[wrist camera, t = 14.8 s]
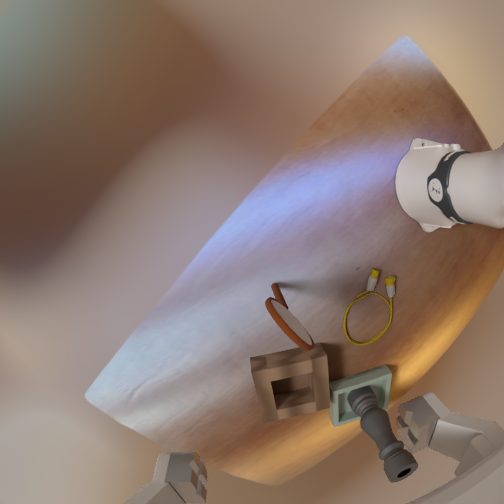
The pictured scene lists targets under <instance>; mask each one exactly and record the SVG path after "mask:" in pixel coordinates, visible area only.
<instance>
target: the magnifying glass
mask: <svg viewBox="0 0 504 504" xmlns="http://www.w3.org/2000/svg"><path fill="white" fill-rule="evenodd" d="M271 288H272V290H273V293H274V296H275V298H276V299H274V298H272V297H270V298H268V299H267V300H266V302H265V305H266V308H267V310H268V312H269V313H270V315H271V316H272V318H273V319H274V320H275V322H276V323H277V324H278V326H279V327H280V328H281V329H282V330H283V331H284V333H285V334H286V335H287V336H288V337H289V338H290V339H291V340H292V341H294V342H295V343H296V344H297V345H298V346H300V347H301V348H302V349H304V350H306V351H310V350H312V349H313V348H314V342H313V340H312V338H311V337H310V335H309V334H308V332H307V331H306V329H305V328H304V327H303V326H302V324H301V323H300V322H299V321H298V320H297V318H296V317H295V316H294V315H293V314H292V313H291V312H290V311H289V310H288V306H287V304H286V302H285V300H284V297H283V295H282V293H281V291H280V289H279V286H278V284H276V283H273V284H272V286H271Z"/></svg>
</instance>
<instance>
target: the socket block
mask: <svg viewBox="0 0 504 504" xmlns="http://www.w3.org/2000/svg"><path fill="white" fill-rule="evenodd" d="M250 362H251V372H252V376H253V380H254V384H255V388H256V392H257V396H258V400H259V404H260V408H261V411H262V415H263V419H264V422H269V421H274V420H280V419H284V418H289V417H294V416H298V415H302V414H307V413H311V412H315V411H319V410H322V409H326V408H330V391H329V375H328V361H327V355H326V353H325V351H324V349H323V347H322V345H321V344H320V343H316V344H314V348H313V349H312V350H310V351H306V350H304V349H302V348H301V347H299V348H295V349H291V350H286V351H281V352H277V353H272V354H267V355H262V356H257V357H252V358H250ZM307 373H309V381H310V387H308V388H304V389H300V390H296V391H291V392H287V393H282V394H277V395H274V394H273V390H272V385H271V381H276V380H280V379H285V378H290V377H294V376H298V375H303V374H307Z"/></svg>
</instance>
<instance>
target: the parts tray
mask: <svg viewBox="0 0 504 504" xmlns="http://www.w3.org/2000/svg"><path fill="white" fill-rule="evenodd" d="M391 378H392V372H391V371H390V370H389V368H388V367H387V366H386V365H383V366H380V367H377V368H374V369H371V370H368V371H365V372H362V373H358V374H355V375H352V376H349V377H345V378H342V379H338V380H335V381H331V382H329V391H330V408H329V409H330V419H331V422H332V424H333V427H336V426H340V425H343V424H346V423H349V422H353V421H356V420H359V419H361V417H359V416H357V415H356V414H355V412H353V411H352V409H351V407H350V405H349V403H348V401H347V397H348V394H349V393H350V391H351V390H354V389H358V388H361V387H364V386H367V385H368V386H370V387H371V389H372V390H373V392H374V393H375V395H376V396H377V400H378V407H379V408H382V409H384V410H387V409H388V405H389V397H390V388H391Z"/></svg>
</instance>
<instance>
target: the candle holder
mask: <svg viewBox="0 0 504 504" xmlns="http://www.w3.org/2000/svg"><path fill="white" fill-rule="evenodd" d="M347 401H348V403H349V405H350V407H351V409H352V411H353V412H355V414H356V415H357V416H359V417H361V421H360V424H361V428H362V429H363V430H364V431H365V432H366V433H367V434H368V435H369V436H370V437H371V438H372V439H373V440H374V441H375V443H376V445H377V446H378V448H379V450H380V453H379V458H380V459H382V460H384V471H385V473H386V475H387V477H388V479H389V481H390V482H397V481H400V480H403V479H404V478H406V477H408V476H409V475H411V474H412V473H413V472H414V471H415V470H416V469H417V467H418V463H417V462H416V460H415V459H414V457H413V455H412V454H411V453H410V452H408V451H407V450H404V449H403V447H404V443H403V442H402V441H398V440H397V439H396V437H395V436H394V434H393V432H392V429H391V425H390V421H389V417H388V414H387V412H386V411H385V410H384V409H382V408H379V407H378V400H377V396H376V395H375V393H374V392H373V390H372V389H371V387H370V386H368V385H367V386H364V387H361V388H358V389H354V390H351V391H350V393H349V394H348V397H347Z"/></svg>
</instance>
